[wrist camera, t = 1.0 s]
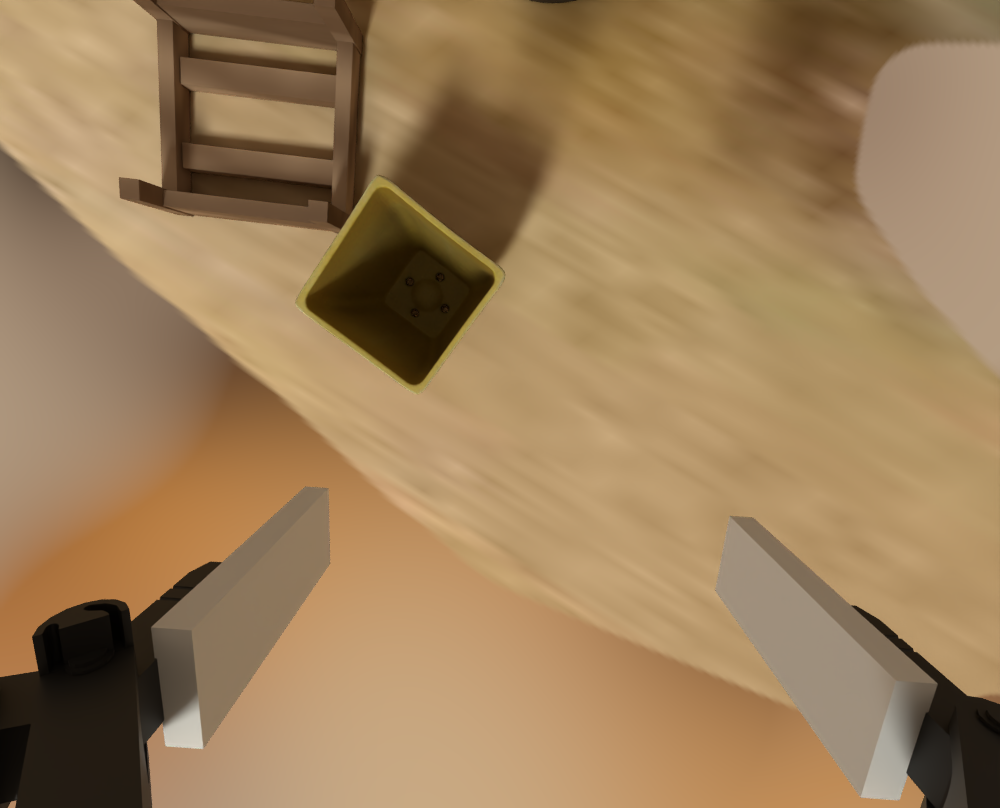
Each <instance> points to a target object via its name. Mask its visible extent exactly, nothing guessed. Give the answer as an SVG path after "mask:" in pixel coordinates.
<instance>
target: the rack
mask: <svg viewBox="0 0 1000 808" xmlns="http://www.w3.org/2000/svg"><path fill="white" fill-rule="evenodd" d="M134 1H135V2H136V3H137V4H138V5H140V6H141V7H142V8H143V9H144V10H146V11H147V12H148V13H149V14H150V15H152V16H153V17H154V18H155V19H156V20H157V39H158V70H159V101H160V131H161V162H162V188H161V187H158V186H155V185H153V184H150V183H147V182H144V181H141V180H138V179H130V178H121V177H119V188H120V198H121V199H125V200H128V201H132V202H135V203H139V204H142V205H146V206H149V207H152V208H156V209H159V210H163V211H166V212H170V213H173V214H177V215H185V216H193V215H197V216H206V217H214V218H223V219H231V220H240V221H249V222H257V223H266V224H274V225H283V226H291V227H300V228H308V229H317V230H325V231H333V232H335V233H339V232H340V230H341V229H342V227H343V226H344V224H345V222H346V221H347V219H348V218H349V216H350V214H351V213H352V211H353V201H354V179H355V157H356V136H357V114H358V92H359V70H360V55H362V38H363V35H362V33H361V31H360V29H359V27H358V26H357V24H356V22H355V20H354V18H353V16H352V14H351V12H350V10H349V8H348V6H347V4H346V3H345V1H344V0H314V4H308V3H300V2H292V1H284V0H134ZM190 33H195V34H203V35H211V36H220V37H228V38H236V39H244V40H252V41H261V42H269V43H277V44H285V45H293V46H302V47H310V48H318V49H326V50H335V51H337V67H336V75H328V74H319V73H311V72H303V71H295V70H286V69H278V68H270V67H262V66H253V65H245V64H237V63H229V62H220V61H212V60H204V59H195V58H189V44H188V34H189V35H190ZM189 90H191V91H198V92H206V93H214V94H223V95H231V96H239V97H248V98H256V99H264V100H273V101H281V102H289V103H298V104H306V105H314V106H322V107H331V108H335V121H334V148H333V160H326V159H317V158H309V157H301V156H292V155H284V154H275V153H267V152H259V151H250V150H242V149H233V148H225V147H217V146H208V145H200V144H191V141H190V93H189ZM191 171H192V172H197V173H206V174H214V175H223V176H231V177H240V178H248V179H256V180H265V181H273V182H282V183H290V184H299V185H307V186H316V187H324V188H332V202H331V204H330V203H329V202H324V201H316V200H308V207H305V206H297V205H288V204H280V203H271V202H263V201H254V200H246V199H238V198H229V197H221V196H212V195H204V194H195V193H192V190H191Z"/></svg>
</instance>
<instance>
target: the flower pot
mask: <svg viewBox="0 0 1000 808" xmlns="http://www.w3.org/2000/svg"><path fill="white" fill-rule="evenodd" d="M438 274H443V276H444V279H443V281H438V280H437V279H436V277H437V275H438ZM408 278H412V279H413V281H414V283H413V285H411V286H409V285H407V283H406V280H407V279H408ZM504 279H505V272H504V271H503V269H502V268H501V267H500V266H498V265H497V264H496V263H494V262H493V261H492V260H490V259H489V258H488V257H486V256H485V255H484V254H482V253H481V252H479V251H478V250H477V249H475V248H474V247H473V246H471V245H470V244H469V243H467V242H466V241H465V240H464V239H462V238H461V237H459V236H458V235H457V234H456V233H454V232H453V231H452V230H450V229H449V228H448V227H446V226H445V225H444V224H443V223H442V222H440V221H439V220H438V219H437V218H435V217H434V216H433V215H432V214H431V213H429V212H428V211H427V210H426V209H424V208H423V207H422V206H421V205H420V204H418V203H417V202H416V201H414V200H413V199H412V198H411V197H410V196H408V195H407V194H406V193H405V192H404V191H402V190H401V189H400V188H399V187H398V186H397V185H395V184H394V183H393V182H392V181H390V180H389V179H388V178H386V177H384V176H381V175H377V176H376V177H374V179H373V180H372V181H371V183H370V184H369V186H368V187H367V189H366V190H365V192H364V194H363V195H362V197H361V199H360V200H359V202H358V203H357V205H356V206H355V208H354V210H353V211H352V213H351V214H350V216H349V218H348V219H347V221H346V222H345V224H344V226H343V227H342V229H341V230H340V232H339V233H338V235H337V236H336V238H335V239H334V241H333V243H332V244H331V246H330V247H329V249H328V250H327V252H326V253H325V255H324V256H323V258H322V260H321V261H320V263H319V264H318V266H317V267H316V269H315V270H314V271H313V273H312V275H311V276H310V278H309V279H308V281H307V283H306V284H305V285H304V287H303V289H302V290H301V292H300V294H299V295H298V297H297V299H296V302H295V305H296V306H297V308H298V309H299V310H300V311H301V312H302V313H303V314H305V315H306V316H307V317H309V318H310V319H312V320H313V321H314V322H315V323H317V324H318V325H320V326H321V327H322V328H324V329H325V330H326V331H328V332H329V333H331V334H332V335H333V336H335V337H336V338H338V339H339V340H340V341H342V342H343V343H344V344H346V345H347V346H348V347H350V348H351V349H352V350H354V351H355V352H357V353H358V354H359V355H361V356H362V357H364V358H365V359H366V360H368V361H369V362H370V363H372V364H373V365H374V366H376V367H377V368H378V369H380V370H381V371H383V372H384V373H385V374H386V375H388V376H389V377H390V378H392V379H393V380H394V381H395V382H397V383H398V384H400V385H401V386H402V387H404V388H405V389H407V390H408V391H410V392H412V393H414V394H421V393H422V392H423V391H424V390H425V389H426V388H427V386H428V385H429V383H430V382H431V380H432V379H433V378H434V376H435V375H436V374H437V372H438V371H439V369H440V368H441V366H442V365H443V364H444V362H445V361H446V359H447V358H448V357H449V355H450V354H451V353H452V351H453V350H454V348H455V347H456V346H457V344H458V343H459V341H460V340H461V339H462V337H463V336H464V335H465V333H466V332H467V330H468V329H469V328H470V326H471V325H472V324H473V322H474V321H475V320H476V318H477V317H478V316H479V314H480V313H481V312H482V310H483V309H484V308H485V306H486V305H487V304H488V302H489V301H490V300H491V298H492V297H493V296H494V294H495V293H496V292H497V290H498V289H499V288H500V286H501V285H502V283H503V282H504ZM443 305H447V306H448V307H449V310H448V312H446V313H445V312H442V310H441V307H442V306H443ZM413 309H417V310H418V312H419V315H418V316H416V317H414V316H412V314H411V312H412V310H413Z"/></svg>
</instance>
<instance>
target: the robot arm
mask: <svg viewBox="0 0 1000 808" xmlns="http://www.w3.org/2000/svg"><path fill="white" fill-rule="evenodd" d="M531 1H536V2H543V3H562V2H570V1H575V0H531ZM329 537H330V536H329V489H328V488H318V487H305V488H303V489H302V490H301V491H300V492H299V493H298V494H297V495H296V496H294V497H293V498H292V499H291V500H290V501H289V502H288V503H287V504H286V505H285V506H284V507H283V508H281V509H280V510H279V511H278V512H277V513H276V514H275V515H274V516H273V517H271V518H270V519H269V520H268V521H267V522H266V523H265V524H264V525H263V526H262V527H260V528H259V529H258V530H257V531H256V532H255V533H254V534H253V535H252V536H251V537H250V538H248V539H247V540H246V541H245V542H244V543H243V544H242V545H241V546H240V547H239V548H237V549H236V550H235V551H234V552H233V553H232V554H231V555H230V556H229V557H228V558H226V559H225V560H224V561H223V562H209V563H207V564H205V565H203V566H201V567H199V568H197V569H195V570H193V571H191V572H189V573H188V574H187V575H186V576H185V577H183V578H182V579H181V580H180V581H179V582H177V583H176V584H175V585H174V586H173V589H169V590H168V591H167V592H166V593H164V594H163V595H162V596H161V597H160V600H156V601H155V602H154V603H153V604H151V605H150V606H149V607H148V608H147V609H146V610H145V611H143V612H142V613H141V614H140V615H139V616H137V617H136V618H135V619H134V620H133V621H131V619H130V612H129V608H128V606H127V604H126V603H125V602H122V601H119V600H114V599H111V600H97V601H92V602H87V603H83V604H80V605H77V606H74V607H71V608H69V609H66V610H64V611H62V612H60V613H58V614H56V615H54V616H53V617H51V618H49V619H48V620H47V621H46V622H44V623H43V624H42V625H40V626H39V627H38V628H37V630H36V632H35V633H34V635H33V636H32V638H33V644H34V649H35V655H36V660H37V665H38V670H39V671H36V672H30V673H24V674H18V675H11V676H5V677H0V808H8V806H9V804H10V802H11V801H15V800H17V801H16V807H15V808H152V799H151V784H150V769H149V756H148V747H147V741H148V739H149V738H150V737H151V736H152V734H153V733H154V732H155V731H156V730H157V728H158V727H159V726H160V725H161V724H162V722H163V731H164V738H165V746H170V747H184V748H185V747H186V748H198V749H203V748H204V747H205V746H206V744H207V743H208V741H209V740H210V738H211V737H212V735H213V734H214V733H215V731H216V730H217V728H218V726H219V725H220V724H221V722H222V721H223V719H224V718H225V716H226V715H227V713H228V712H229V710H230V709H231V708H232V706H233V705H234V703H235V702H236V700H237V699H238V697H239V696H240V695H241V693H242V692H243V690H244V689H245V687H246V686H247V684H248V683H249V681H250V680H251V678H252V677H253V676H254V674H255V672H256V671H257V670H258V668H259V667H260V665H261V664H262V662H263V661H264V659H265V658H266V657H267V655H268V654H269V652H270V651H271V649H272V648H273V646H274V645H275V643H276V642H277V640H278V639H279V638H280V636H281V635H282V633H283V632H284V630H285V629H286V627H287V626H288V624H289V623H290V621H291V620H292V618H293V617H294V616H295V614H296V613H297V611H298V610H299V608H300V607H301V605H302V604H303V602H304V601H305V599H306V598H307V596H308V595H309V594H310V592H311V591H312V589H313V587H314V586H315V585H316V583H317V582H318V580H319V579H320V578H321V576H322V575H323V573H324V572H325V570H326V569H327V567H328V566H329V564H330V542H329V541H330V538H329ZM715 591H716V592H717V594H718V595H719V597H720V598H721V600H722V601H723V602H724V604H725V605H726V607H727V608H728V610H729V611H730V612H731V614H732V615H733V617H734V618H735V619H736V621H737V622H738V624H739V625H740V627H741V628H742V629H743V631H744V632H745V634H746V635H747V637H748V638H749V639H750V641H751V642H752V644H753V645H754V647H755V648H756V649H757V651H758V652H759V654H760V655H761V656H762V658H763V659H764V661H765V662H766V664H767V665H768V666H769V668H770V669H771V671H772V672H773V674H774V675H775V676H776V678H777V679H778V681H779V682H780V684H781V685H782V686H783V688H784V689H785V691H786V692H787V694H788V695H789V696H790V698H791V699H792V701H793V702H794V703H795V705H796V706H797V708H798V709H799V711H800V712H801V713H802V715H803V716H804V718H805V719H806V720H807V722H808V723H809V725H810V726H811V728H812V729H813V730H814V732H815V733H816V735H817V736H818V738H819V739H820V740H821V742H822V743H823V745H824V746H825V748H826V749H827V750H828V752H829V753H830V754H831V756H832V757H833V759H834V760H835V762H836V763H837V765H838V766H839V768H840V769H841V770H842V772H843V773H844V775H845V776H846V777H847V779H848V780H849V782H850V783H851V785H852V786H853V787H854V789H855V790H856V792H857V793H858V795H859V796H860V797H861V798H875V799H888V800H900V797H901V794H902V791H903V788H904V785H905V781H906V779H907V776H909V777H910V778H911V779H912V780H913V782H914V783H915V784H916V785H917V786H918V787H919V789H920V790H921V791H922V792H923V793H924V795H925V796H924V799H923V801H922V804H921V808H1000V704H997V703H995V702H991V701H989V700H986V699H983V698H977V697H971V696H967V695H966V694H964V693H963V692H962V691H961V690H960V689H959V688H958V687H956V686H955V685H954V684H953V683H952V682H951V681H949V680H948V679H947V678H946V677H945V676H944V675H943V674H941V673H940V672H939V671H938V670H937V669H936V668H935V667H933V666H932V665H931V664H930V663H929V662H928V661H926V660H925V659H924V658H923V657H922V656H921V655H920V654H918V653H917V652H914V651H913V648H911V647H910V646H909V645H908V644H907V643H906V642H905V641H903V640H902V639H899V638H898V635H897V634H895V633H894V632H893V631H892V630H891V629H890V628H888V627H887V626H886V625H885V624H884V623H883V622H882V621H880V620H879V619H877V618H876V617H874V616H872V615H871V614H869V613H867V612H866V611H864V610H862V609H861V608H859V607H857V606H852V605H850V604H849V603H847V602H846V601H845V600H844V599H843V598H842V597H841V596H840V595H839V594H837V593H836V592H835V591H834V590H833V589H832V588H831V587H830V586H829V585H827V584H826V583H825V582H824V581H823V580H822V579H821V578H820V577H819V576H817V575H816V574H815V573H814V572H813V571H812V570H811V569H810V568H809V567H807V566H806V565H805V564H804V563H803V562H802V561H801V560H800V559H799V558H797V557H796V556H795V555H794V554H793V553H792V552H791V551H790V550H789V549H787V548H786V547H785V546H784V545H783V544H782V543H781V542H780V541H779V540H777V539H776V538H775V537H774V536H773V535H772V534H771V533H770V532H769V531H767V530H766V529H765V528H764V527H763V526H762V525H761V524H760V523H759V522H757V521H756V520H755V519H754V518H752V517H737V516H729V521H728V527H727V532H726V537H725V542H724V548H723V553H722V558H721V563H720V569H719V574H718V579H717V584H716V590H715Z"/></svg>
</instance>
